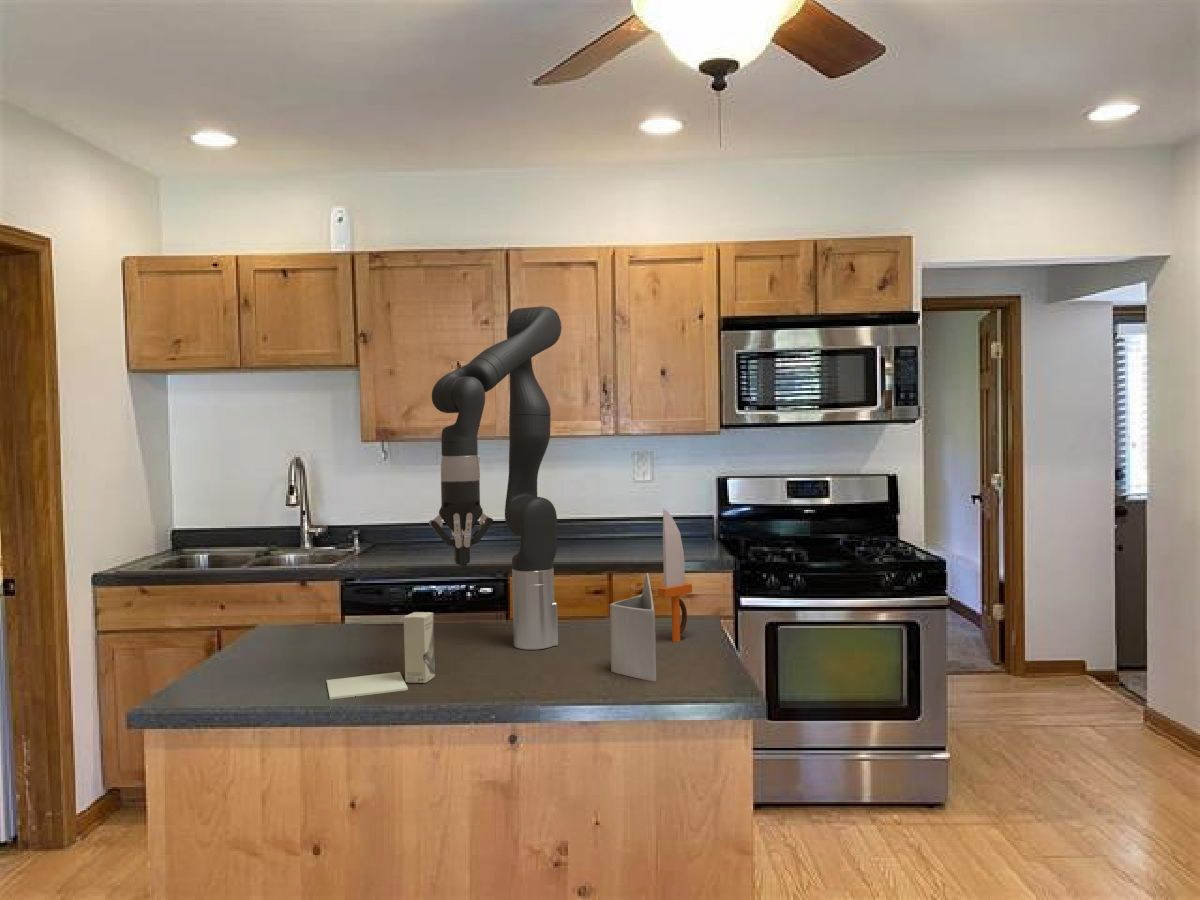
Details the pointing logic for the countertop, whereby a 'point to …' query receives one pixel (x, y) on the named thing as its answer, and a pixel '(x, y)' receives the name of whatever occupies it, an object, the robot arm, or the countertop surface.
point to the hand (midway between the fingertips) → (462, 566)
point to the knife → (674, 574)
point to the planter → (634, 636)
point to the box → (419, 647)
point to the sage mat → (366, 685)
